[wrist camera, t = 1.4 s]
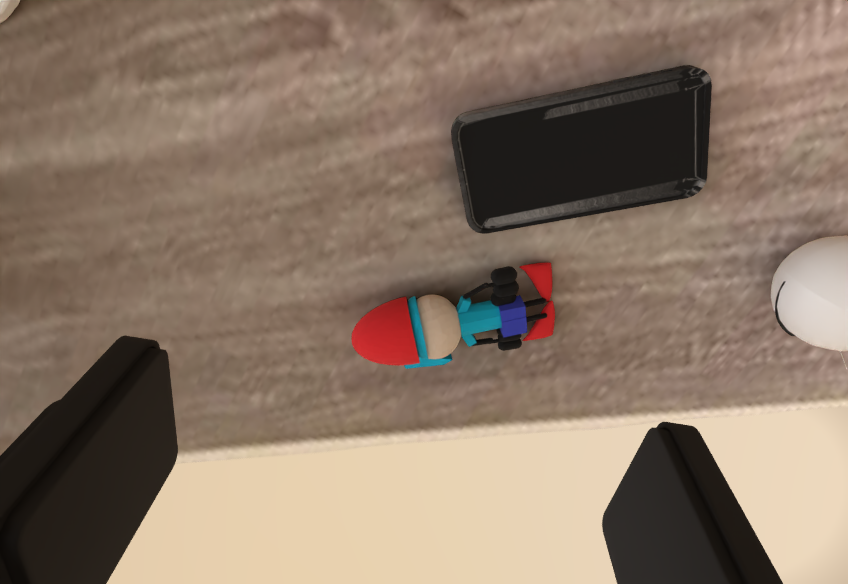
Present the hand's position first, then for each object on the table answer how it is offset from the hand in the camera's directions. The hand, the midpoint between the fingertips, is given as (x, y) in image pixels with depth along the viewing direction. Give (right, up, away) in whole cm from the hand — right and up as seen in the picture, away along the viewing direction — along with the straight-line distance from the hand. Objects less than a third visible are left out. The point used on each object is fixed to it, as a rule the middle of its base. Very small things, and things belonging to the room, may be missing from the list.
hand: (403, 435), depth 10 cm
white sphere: (+27, +4, +27) cm, 38 cm away
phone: (+10, +12, +23) cm, 28 cm away
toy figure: (+3, +2, +29) cm, 30 cm away
